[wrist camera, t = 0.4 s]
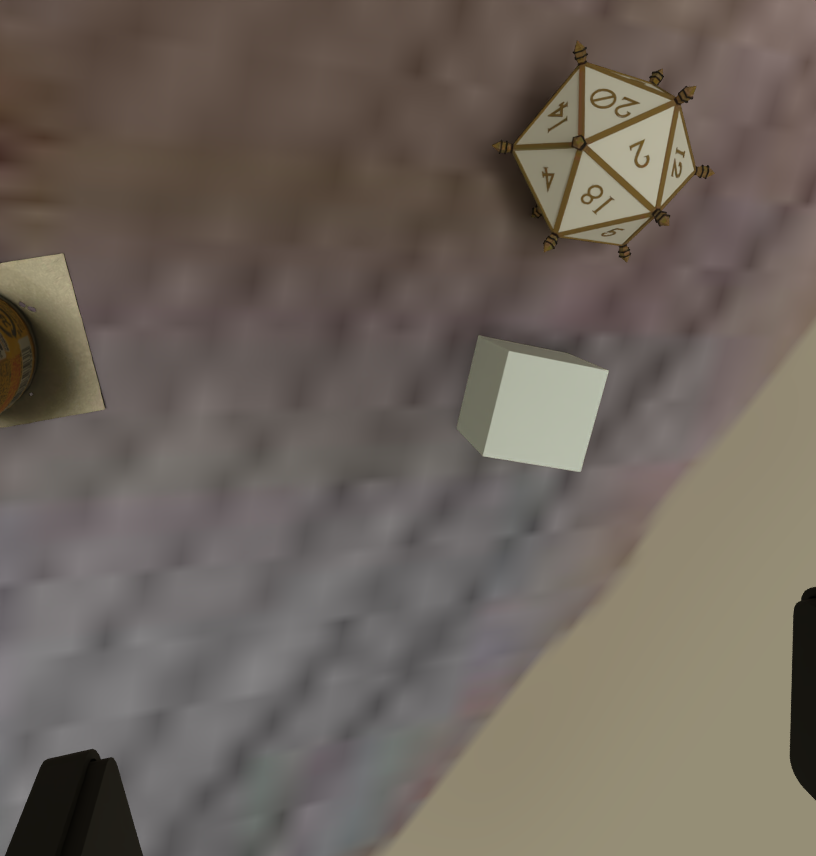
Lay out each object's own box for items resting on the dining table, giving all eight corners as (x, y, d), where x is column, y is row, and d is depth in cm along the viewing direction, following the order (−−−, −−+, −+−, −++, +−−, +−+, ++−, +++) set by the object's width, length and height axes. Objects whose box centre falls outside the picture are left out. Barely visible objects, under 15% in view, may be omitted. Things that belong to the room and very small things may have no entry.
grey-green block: (478, 334, 39) (508, 350, 34) (567, 352, 40) (608, 370, 35) (455, 428, 40) (482, 456, 35) (543, 442, 41) (580, 472, 36)
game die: (507, 181, 40) (429, 153, 32) (625, 41, 37) (573, -35, 28) (625, 299, 39) (577, 304, 30) (761, 165, 35) (752, 125, 26)
